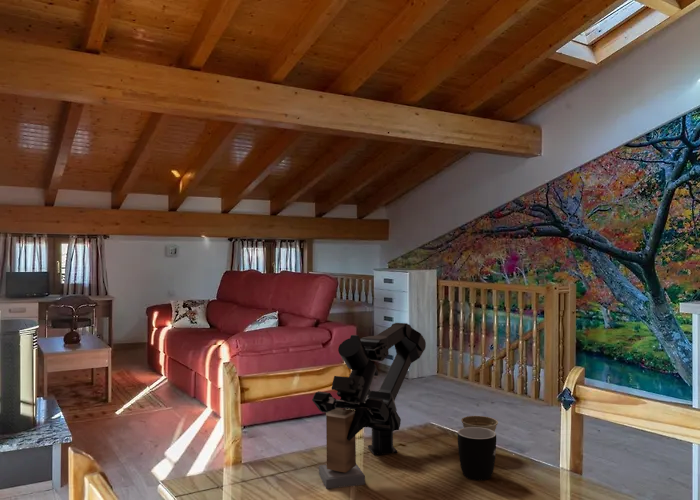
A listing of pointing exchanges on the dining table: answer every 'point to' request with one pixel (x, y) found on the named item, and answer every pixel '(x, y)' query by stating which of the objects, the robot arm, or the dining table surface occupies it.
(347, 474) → the slate base
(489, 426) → the flower pot
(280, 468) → the dining table surface
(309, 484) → the dining table surface
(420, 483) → the dining table surface
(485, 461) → the mug
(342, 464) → the brown tall rectangular block
